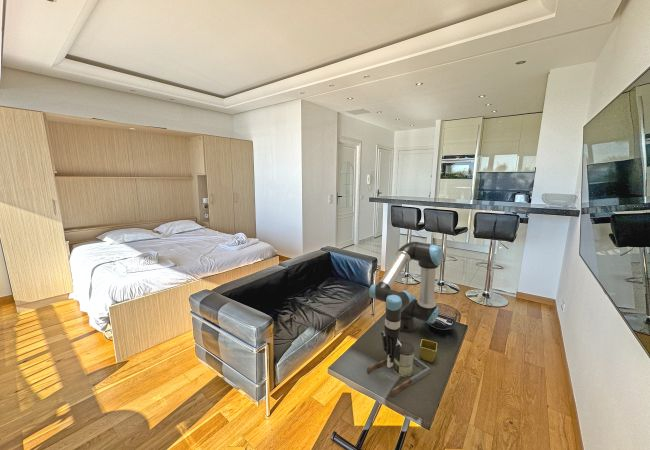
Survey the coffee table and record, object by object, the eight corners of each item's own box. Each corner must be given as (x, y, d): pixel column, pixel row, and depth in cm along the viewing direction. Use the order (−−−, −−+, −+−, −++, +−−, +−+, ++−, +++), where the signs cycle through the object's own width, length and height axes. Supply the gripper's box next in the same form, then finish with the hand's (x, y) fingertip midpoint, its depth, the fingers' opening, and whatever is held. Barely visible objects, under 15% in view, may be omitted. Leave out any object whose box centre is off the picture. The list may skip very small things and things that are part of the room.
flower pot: (420, 351, 157) (421, 338, 155) (435, 356, 153) (437, 342, 152) (418, 360, 149) (419, 346, 148) (434, 365, 146) (436, 351, 144)
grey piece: (403, 353, 155) (403, 349, 154) (429, 373, 140) (430, 368, 140) (385, 363, 147) (385, 358, 146) (411, 384, 132) (411, 379, 132)
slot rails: (385, 363, 147) (385, 358, 146) (411, 384, 132) (411, 379, 132) (366, 372, 140) (367, 368, 139) (391, 396, 125) (392, 391, 124)
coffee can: (389, 370, 142) (391, 347, 139) (398, 360, 149) (399, 338, 147) (407, 380, 135) (409, 356, 132) (415, 369, 143) (417, 346, 140)
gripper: (377, 321, 133) (375, 361, 138) (397, 335, 123) (394, 377, 128) (388, 317, 137) (385, 355, 142) (407, 329, 126) (404, 371, 132)
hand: (389, 365), depth 135 cm, fingers closed
